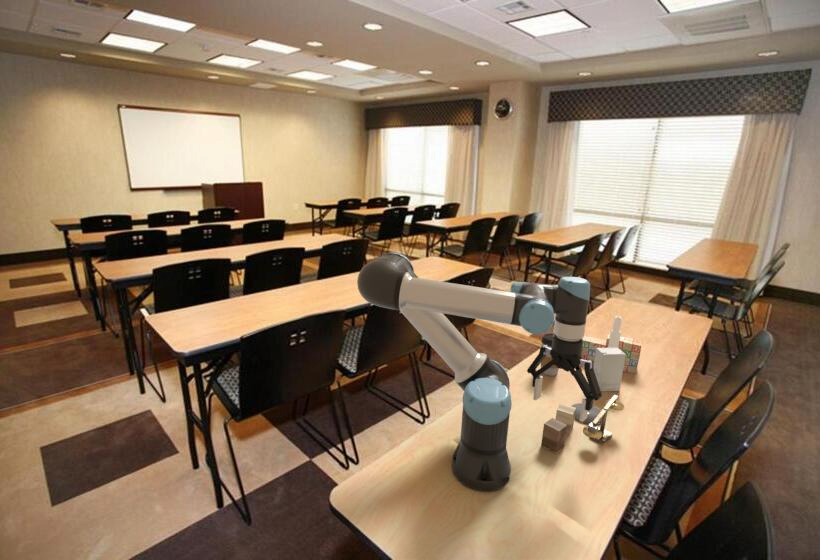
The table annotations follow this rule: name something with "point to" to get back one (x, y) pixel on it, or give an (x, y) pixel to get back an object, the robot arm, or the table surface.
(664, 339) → the table surface
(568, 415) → the maple block
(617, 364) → the skincare box
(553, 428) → the walnut block
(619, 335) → the cosmetic bottle
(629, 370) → the stack of blocks
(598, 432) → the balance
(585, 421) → the plate
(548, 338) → the coffee cup
